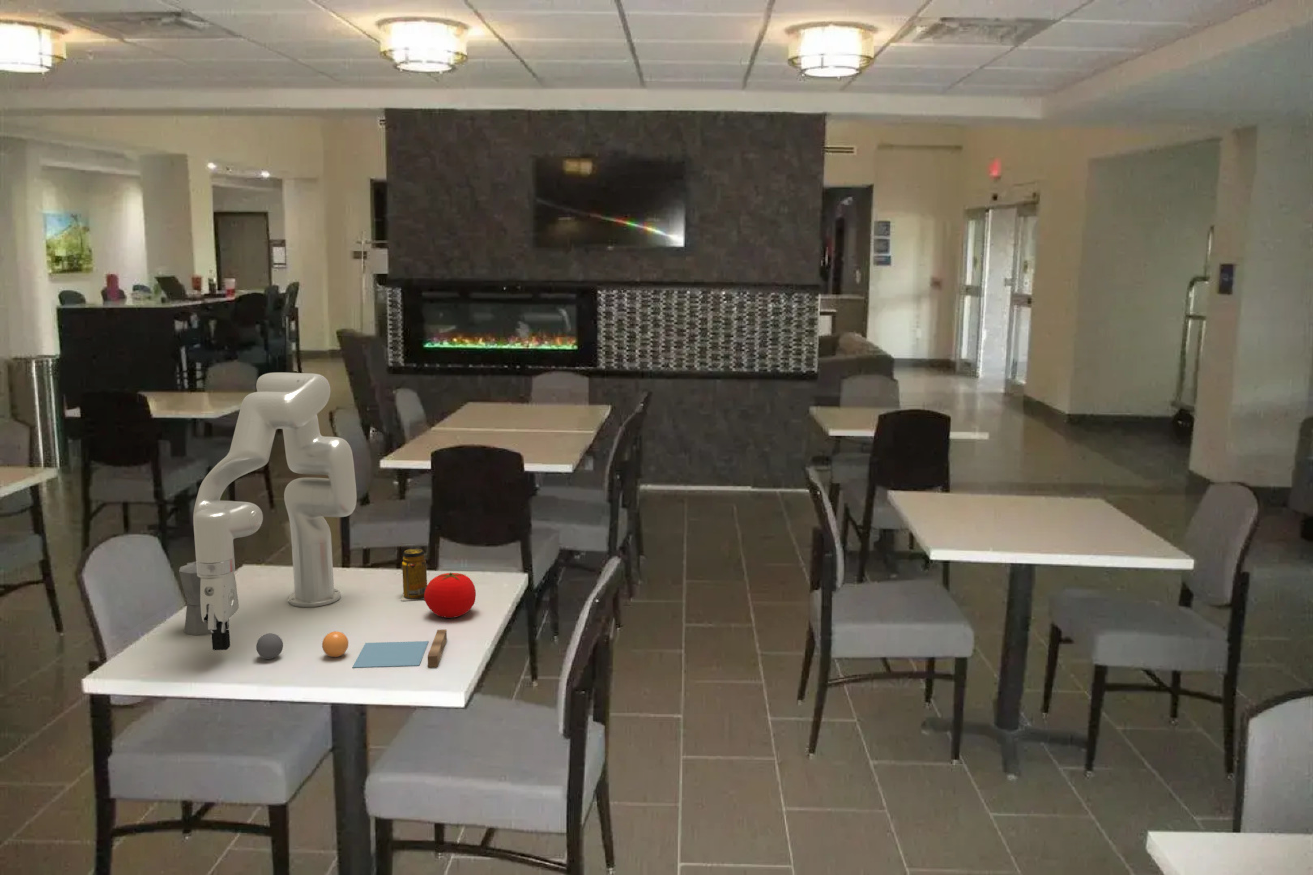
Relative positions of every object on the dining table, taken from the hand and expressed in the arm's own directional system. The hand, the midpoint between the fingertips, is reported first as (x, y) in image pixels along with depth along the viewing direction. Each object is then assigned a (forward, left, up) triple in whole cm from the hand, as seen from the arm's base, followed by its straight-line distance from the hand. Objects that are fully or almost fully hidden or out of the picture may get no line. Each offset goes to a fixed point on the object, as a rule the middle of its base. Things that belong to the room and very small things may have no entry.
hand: (221, 648), depth 224 cm
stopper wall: (0, +46, -3) cm, 46 cm away
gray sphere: (0, +10, 0) cm, 10 cm away
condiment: (-40, +36, -3) cm, 54 cm away
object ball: (0, +24, 0) cm, 24 cm away
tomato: (-25, +46, -3) cm, 53 cm away
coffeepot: (-19, -10, -3) cm, 22 cm away
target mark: (0, +36, -3) cm, 36 cm away
